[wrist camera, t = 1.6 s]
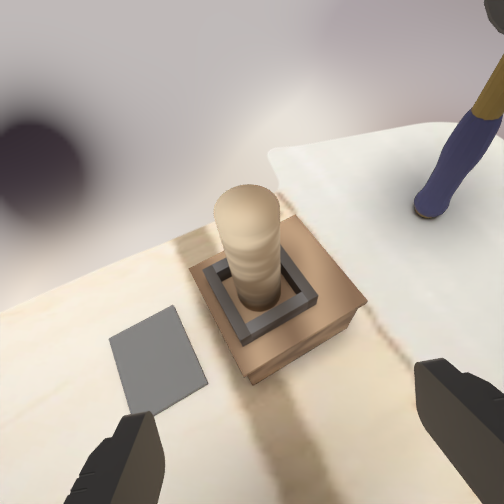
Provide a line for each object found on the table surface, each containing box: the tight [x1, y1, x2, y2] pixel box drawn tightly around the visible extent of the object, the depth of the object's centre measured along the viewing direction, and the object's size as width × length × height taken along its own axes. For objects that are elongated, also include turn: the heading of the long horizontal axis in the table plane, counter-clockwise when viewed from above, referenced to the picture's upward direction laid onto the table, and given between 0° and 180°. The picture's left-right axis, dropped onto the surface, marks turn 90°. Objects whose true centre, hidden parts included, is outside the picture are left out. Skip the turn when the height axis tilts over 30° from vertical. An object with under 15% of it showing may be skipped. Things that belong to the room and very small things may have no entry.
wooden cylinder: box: [214, 184, 281, 312], centre depth 24 cm, size 4×4×12 cm
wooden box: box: [189, 214, 367, 385], centre depth 32 cm, size 13×12×10 cm
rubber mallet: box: [414, 0, 504, 218], centre depth 29 cm, size 12×8×30 cm, turn 132°
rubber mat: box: [109, 305, 208, 416], centre depth 34 cm, size 8×10×1 cm
